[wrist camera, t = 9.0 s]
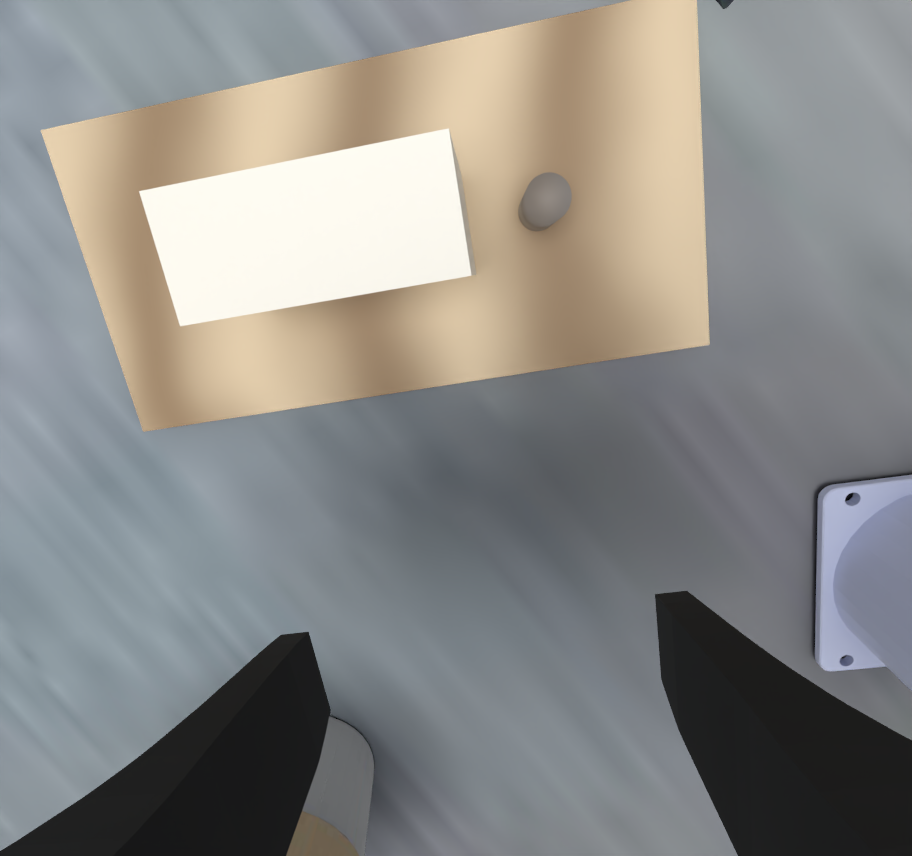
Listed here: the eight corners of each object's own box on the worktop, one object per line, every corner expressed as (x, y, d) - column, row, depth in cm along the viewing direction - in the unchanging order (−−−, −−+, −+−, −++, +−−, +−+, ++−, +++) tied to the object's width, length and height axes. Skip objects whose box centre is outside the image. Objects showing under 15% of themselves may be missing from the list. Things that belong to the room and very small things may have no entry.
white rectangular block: (460, 169, 16) (447, 120, 11) (476, 274, 17) (471, 275, 12) (245, 211, 17) (137, 184, 12) (271, 310, 18) (179, 326, 13)
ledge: (681, 6, 16) (746, -84, 12) (695, 340, 19) (753, 359, 14) (69, 139, 18) (-53, 100, 14) (162, 422, 21) (83, 459, 16)
